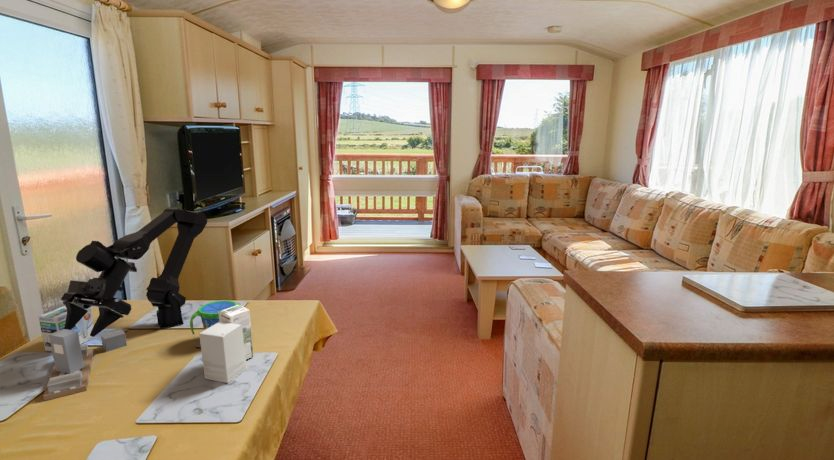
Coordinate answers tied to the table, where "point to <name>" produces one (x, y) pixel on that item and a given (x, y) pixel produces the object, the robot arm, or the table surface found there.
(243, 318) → the syrup box
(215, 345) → the supplement box
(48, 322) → the light bulb box
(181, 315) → the robot arm
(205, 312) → the snack cup
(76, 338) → the block
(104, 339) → the block
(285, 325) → the table surface
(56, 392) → the rail board
